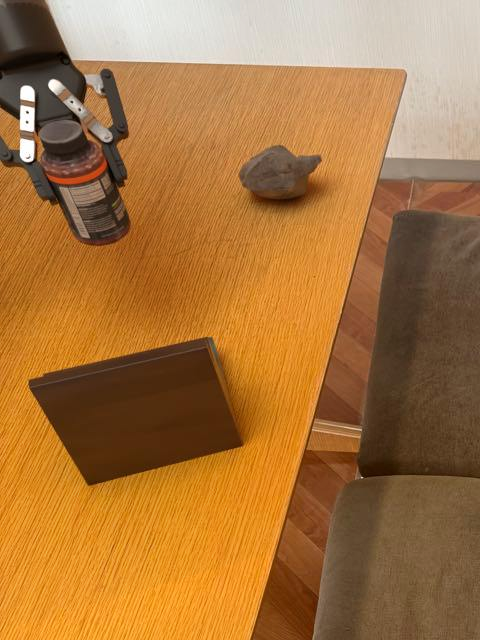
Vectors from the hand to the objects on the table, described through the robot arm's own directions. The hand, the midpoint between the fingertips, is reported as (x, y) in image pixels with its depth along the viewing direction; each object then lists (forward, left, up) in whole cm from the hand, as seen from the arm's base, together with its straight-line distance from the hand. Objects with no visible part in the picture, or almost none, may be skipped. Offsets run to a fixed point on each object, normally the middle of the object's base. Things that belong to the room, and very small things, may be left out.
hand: (88, 193), depth 89 cm
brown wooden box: (+2, -12, -20) cm, 23 cm away
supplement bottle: (-1, +2, -6) cm, 6 cm away
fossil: (+14, +29, -20) cm, 38 cm away
